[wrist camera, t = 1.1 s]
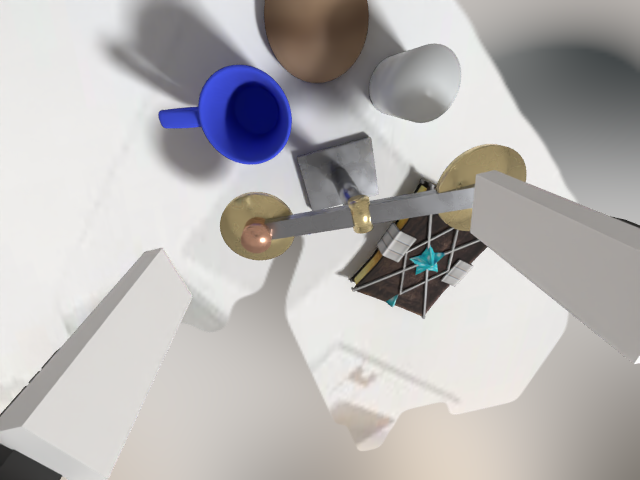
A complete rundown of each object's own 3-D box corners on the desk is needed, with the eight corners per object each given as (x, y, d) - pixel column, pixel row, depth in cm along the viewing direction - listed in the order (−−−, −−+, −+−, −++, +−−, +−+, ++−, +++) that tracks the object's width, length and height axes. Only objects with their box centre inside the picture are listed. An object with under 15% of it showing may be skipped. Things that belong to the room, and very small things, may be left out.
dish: (249, -30, 26) (247, -34, 25) (356, -62, 26) (359, -69, 25) (283, 94, 32) (283, 94, 31) (372, 68, 31) (375, 67, 30)
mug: (181, 71, 30) (136, 64, 21) (288, 70, 31) (288, 64, 22) (198, 147, 34) (167, 167, 25) (293, 144, 35) (294, 163, 26)
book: (417, 306, 53) (428, 325, 49) (346, 279, 48) (352, 298, 43) (497, 218, 44) (519, 232, 40) (421, 173, 39) (437, 184, 35)
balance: (227, 175, 36) (188, 231, 22) (441, 116, 35) (542, 136, 21) (249, 226, 40) (228, 300, 26) (441, 174, 39) (526, 222, 25)
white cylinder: (365, 63, 31) (390, 54, 23) (418, 47, 31) (462, 34, 23) (372, 120, 34) (397, 130, 26) (421, 107, 34) (460, 112, 26)
